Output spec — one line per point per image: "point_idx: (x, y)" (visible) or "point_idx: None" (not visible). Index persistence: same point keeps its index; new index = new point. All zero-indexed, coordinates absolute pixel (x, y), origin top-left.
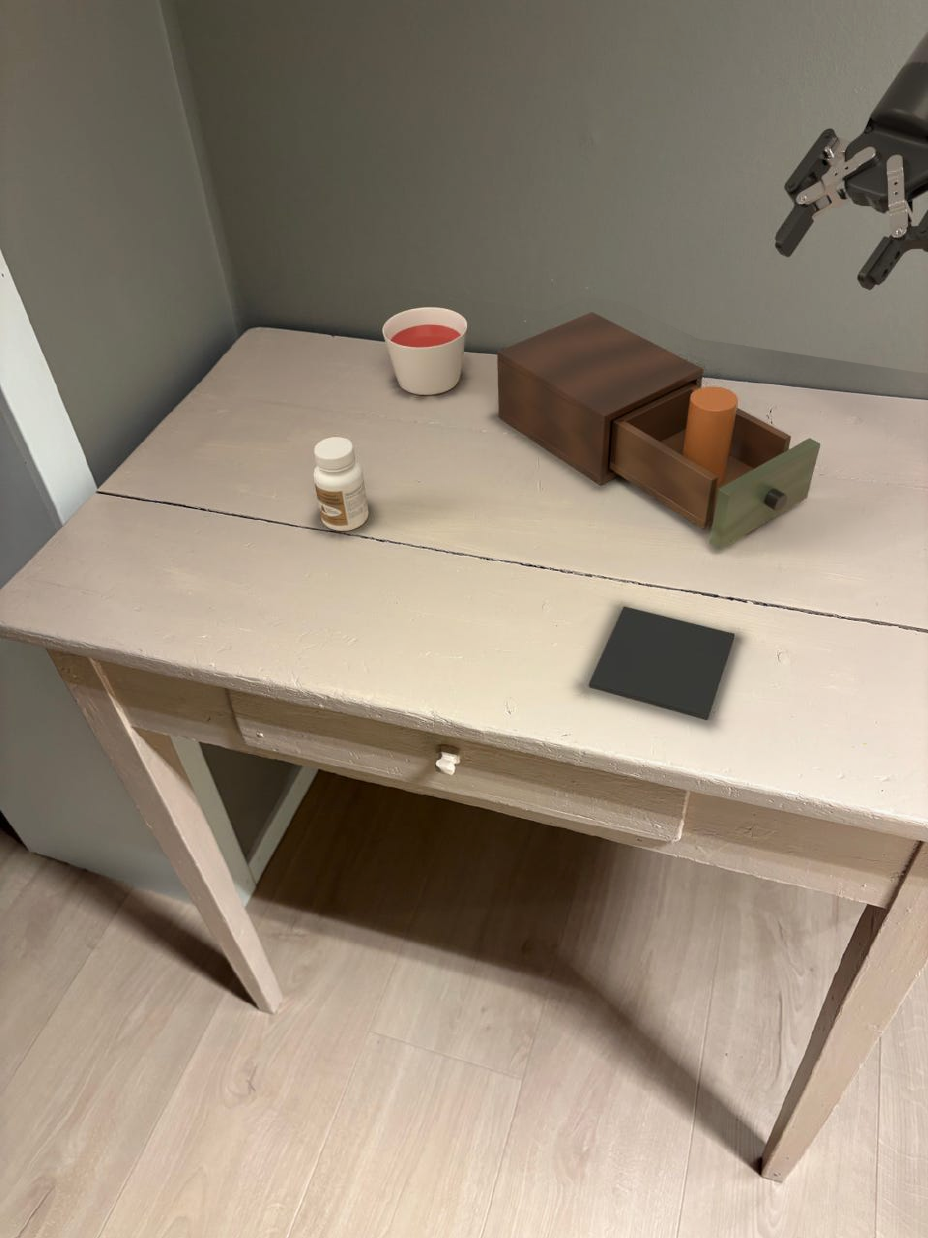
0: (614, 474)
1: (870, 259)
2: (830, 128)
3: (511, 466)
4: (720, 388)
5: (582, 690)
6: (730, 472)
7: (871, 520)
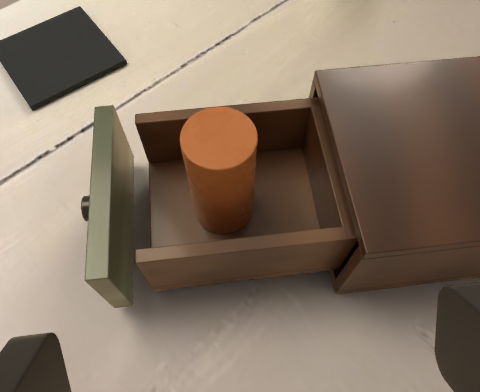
0: None
1: (7, 384)
2: None
3: None
4: (235, 159)
5: (83, 6)
6: (205, 239)
7: None
